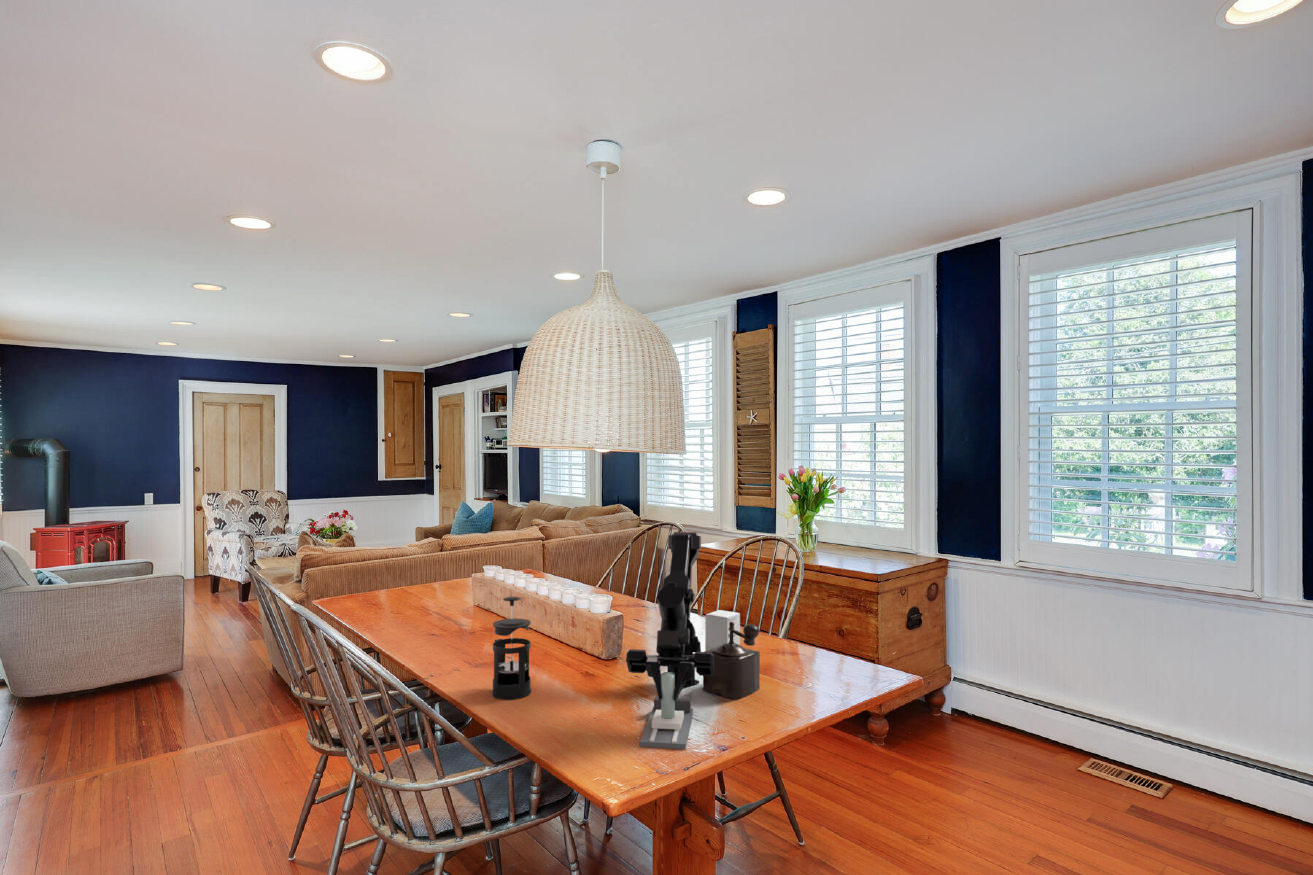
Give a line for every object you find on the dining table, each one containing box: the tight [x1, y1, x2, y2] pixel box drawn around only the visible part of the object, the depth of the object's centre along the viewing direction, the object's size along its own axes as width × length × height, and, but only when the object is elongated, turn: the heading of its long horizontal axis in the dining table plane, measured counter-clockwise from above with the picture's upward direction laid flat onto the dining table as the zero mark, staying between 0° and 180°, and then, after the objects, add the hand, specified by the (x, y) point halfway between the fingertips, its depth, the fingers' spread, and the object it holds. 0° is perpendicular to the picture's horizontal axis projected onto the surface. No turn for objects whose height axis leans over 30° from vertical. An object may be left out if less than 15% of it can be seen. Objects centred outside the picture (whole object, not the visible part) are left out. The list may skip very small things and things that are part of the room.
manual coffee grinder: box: [702, 622, 761, 700], centre depth 168 cm, size 16×11×18 cm
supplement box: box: [704, 609, 741, 652], centre depth 196 cm, size 7×7×13 cm
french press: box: [491, 596, 532, 701], centre depth 168 cm, size 12×9×23 cm
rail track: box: [639, 696, 694, 750], centre depth 146 cm, size 19×9×4 cm, turn 172°
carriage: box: [652, 671, 684, 730], centre depth 146 cm, size 7×6×10 cm
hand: (667, 700), depth 144 cm, fingers closed on carriage, 3 cm apart
